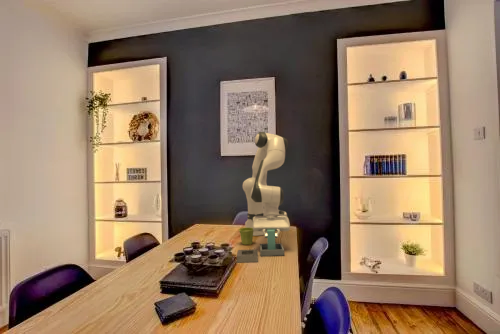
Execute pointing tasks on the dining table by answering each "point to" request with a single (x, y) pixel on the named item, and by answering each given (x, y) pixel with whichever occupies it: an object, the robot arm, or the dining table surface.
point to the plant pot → (246, 235)
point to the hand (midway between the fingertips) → (271, 237)
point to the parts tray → (277, 252)
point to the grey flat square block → (247, 256)
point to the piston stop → (271, 239)
